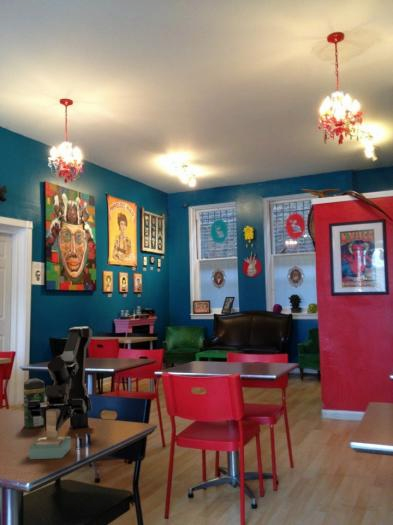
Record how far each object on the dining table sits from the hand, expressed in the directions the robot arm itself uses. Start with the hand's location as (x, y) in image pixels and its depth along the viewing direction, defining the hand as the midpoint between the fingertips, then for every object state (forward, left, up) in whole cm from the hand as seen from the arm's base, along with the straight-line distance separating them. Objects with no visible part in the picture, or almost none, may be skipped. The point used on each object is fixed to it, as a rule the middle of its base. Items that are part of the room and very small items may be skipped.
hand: (51, 430), depth 155 cm
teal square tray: (0, 0, -7) cm, 7 cm away
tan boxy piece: (0, +1, -4) cm, 4 cm away
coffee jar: (+2, -45, -7) cm, 45 cm away
